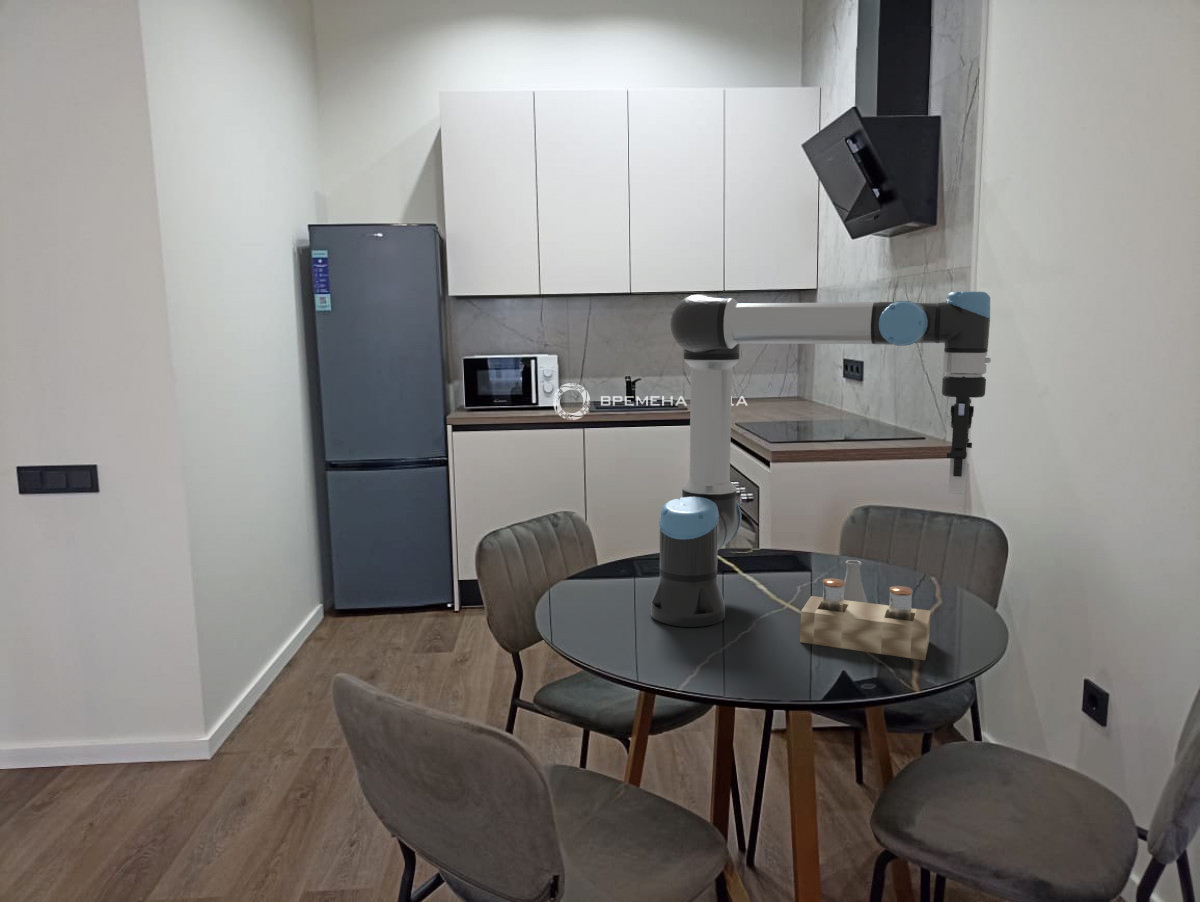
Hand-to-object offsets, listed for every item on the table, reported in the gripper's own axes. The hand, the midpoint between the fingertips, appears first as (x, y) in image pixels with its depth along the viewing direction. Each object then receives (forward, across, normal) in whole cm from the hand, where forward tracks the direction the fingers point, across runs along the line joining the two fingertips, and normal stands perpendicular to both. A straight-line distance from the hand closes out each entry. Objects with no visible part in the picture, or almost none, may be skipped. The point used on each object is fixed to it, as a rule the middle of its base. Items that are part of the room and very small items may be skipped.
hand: (957, 487), depth 165 cm
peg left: (+23, -14, +20) cm, 34 cm away
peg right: (+23, -14, +8) cm, 28 cm away
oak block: (+28, -14, +14) cm, 34 cm away
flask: (+28, +5, +19) cm, 35 cm away
